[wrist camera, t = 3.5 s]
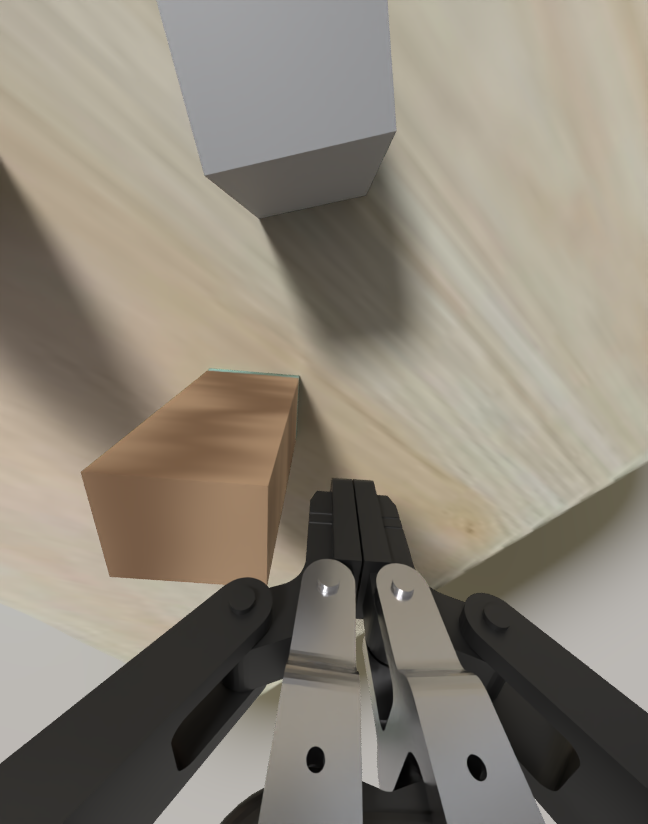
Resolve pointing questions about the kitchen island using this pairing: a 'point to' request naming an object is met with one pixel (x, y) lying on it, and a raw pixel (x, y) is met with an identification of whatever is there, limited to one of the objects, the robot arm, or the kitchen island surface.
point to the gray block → (285, 96)
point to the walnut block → (199, 482)
